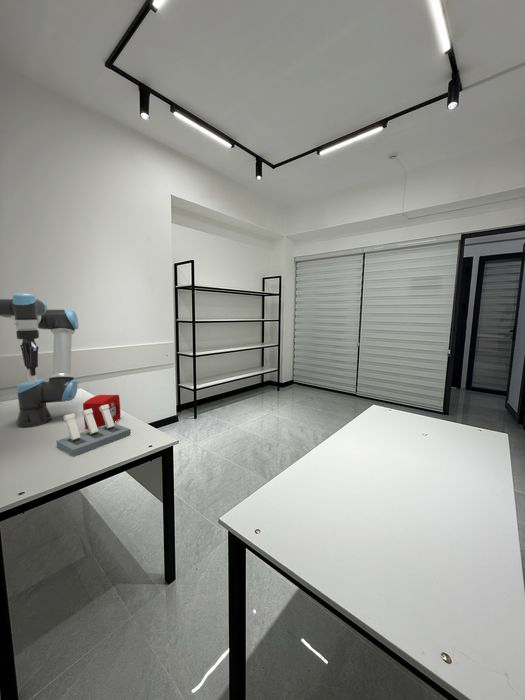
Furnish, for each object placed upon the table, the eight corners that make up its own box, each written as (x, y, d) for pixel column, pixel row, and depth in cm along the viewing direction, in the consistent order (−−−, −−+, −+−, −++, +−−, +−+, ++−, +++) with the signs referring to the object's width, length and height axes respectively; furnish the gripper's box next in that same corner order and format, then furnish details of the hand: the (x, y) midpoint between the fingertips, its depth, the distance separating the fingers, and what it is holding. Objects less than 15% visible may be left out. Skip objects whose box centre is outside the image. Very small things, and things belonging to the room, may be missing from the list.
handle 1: (89, 434, 136) (81, 412, 138) (97, 432, 139) (89, 409, 141) (91, 433, 135) (83, 410, 137) (99, 430, 138) (91, 408, 140)
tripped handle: (70, 440, 129) (63, 416, 131) (79, 438, 132) (71, 414, 134) (72, 439, 128) (65, 415, 130) (81, 436, 131) (73, 412, 133)
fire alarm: (105, 429, 150) (103, 401, 148) (84, 429, 150) (82, 401, 148) (121, 418, 166) (119, 393, 164) (102, 418, 166) (100, 393, 164)
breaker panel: (56, 446, 131) (56, 440, 130) (113, 427, 152) (112, 422, 152) (73, 456, 122) (73, 449, 122) (130, 435, 144) (130, 429, 143)
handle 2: (106, 429, 143) (98, 407, 145) (113, 426, 146) (106, 405, 148) (108, 427, 141) (100, 405, 143) (115, 425, 144) (108, 404, 146)
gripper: (11, 329, 126) (17, 382, 129) (22, 330, 119) (28, 386, 122) (31, 328, 133) (37, 379, 136) (43, 329, 125) (49, 382, 129)
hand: (32, 382), depth 129 cm, fingers closed
